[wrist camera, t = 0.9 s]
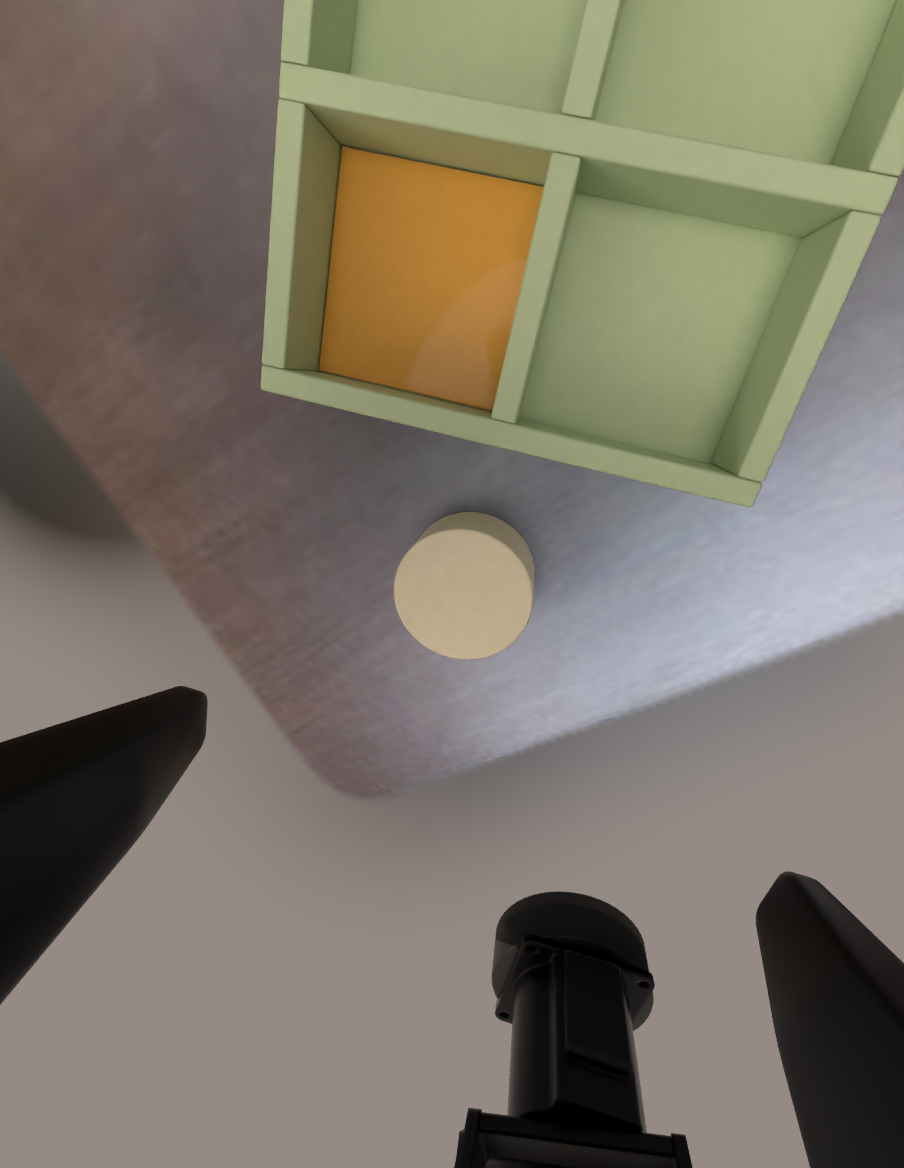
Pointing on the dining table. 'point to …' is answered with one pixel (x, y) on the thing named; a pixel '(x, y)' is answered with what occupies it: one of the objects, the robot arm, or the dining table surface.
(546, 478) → the dining table surface
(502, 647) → the cylinder
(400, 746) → the dining table surface
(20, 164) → the dining table surface
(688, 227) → the grid
